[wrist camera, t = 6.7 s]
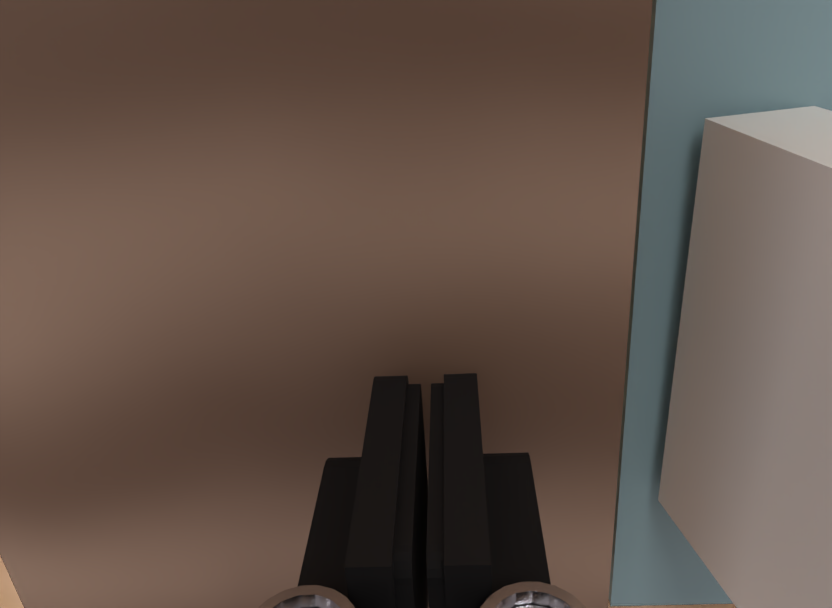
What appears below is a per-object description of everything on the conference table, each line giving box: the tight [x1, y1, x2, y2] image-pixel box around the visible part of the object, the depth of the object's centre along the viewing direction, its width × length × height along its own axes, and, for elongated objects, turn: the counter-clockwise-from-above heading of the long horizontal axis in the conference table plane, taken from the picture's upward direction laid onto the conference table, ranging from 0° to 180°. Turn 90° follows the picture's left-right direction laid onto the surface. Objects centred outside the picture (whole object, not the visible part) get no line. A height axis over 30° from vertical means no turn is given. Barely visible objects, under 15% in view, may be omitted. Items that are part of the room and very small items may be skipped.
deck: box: [0, 0, 653, 608], centre depth 15 cm, size 16×12×4 cm
